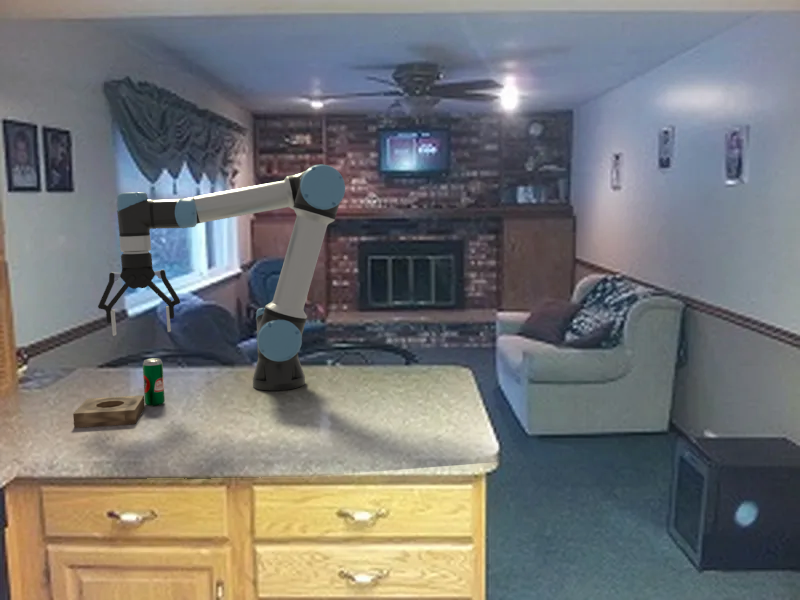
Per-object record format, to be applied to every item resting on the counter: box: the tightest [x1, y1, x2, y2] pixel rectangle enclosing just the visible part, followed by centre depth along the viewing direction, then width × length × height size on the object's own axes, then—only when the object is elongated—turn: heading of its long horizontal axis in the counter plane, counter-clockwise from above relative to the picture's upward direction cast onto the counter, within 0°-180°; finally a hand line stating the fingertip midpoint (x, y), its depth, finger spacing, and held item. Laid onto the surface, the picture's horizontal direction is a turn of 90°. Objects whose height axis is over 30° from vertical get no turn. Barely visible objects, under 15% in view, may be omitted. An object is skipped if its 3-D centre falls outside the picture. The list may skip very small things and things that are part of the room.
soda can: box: [142, 357, 166, 407], centre depth 195 cm, size 5×5×12 cm
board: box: [72, 395, 146, 429], centre depth 183 cm, size 14×14×4 cm
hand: (142, 333), depth 193 cm, fingers open, 13 cm apart
